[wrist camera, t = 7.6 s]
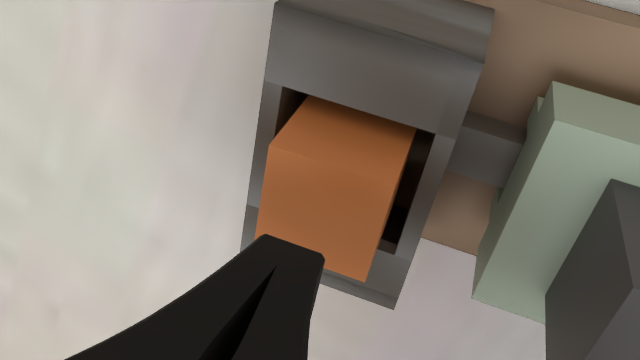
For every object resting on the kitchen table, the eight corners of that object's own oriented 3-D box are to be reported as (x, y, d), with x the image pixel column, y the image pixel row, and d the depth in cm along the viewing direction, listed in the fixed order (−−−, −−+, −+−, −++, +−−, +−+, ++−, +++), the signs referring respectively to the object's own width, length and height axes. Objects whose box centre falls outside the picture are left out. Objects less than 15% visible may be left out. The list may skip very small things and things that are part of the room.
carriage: (660, 285, 19) (721, 512, 13) (480, 226, 20) (456, 412, 14) (773, 128, 16) (928, 333, 10) (551, 64, 17) (560, 214, 11)
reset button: (392, 206, 18) (364, 282, 15) (297, 175, 18) (253, 243, 15) (419, 119, 16) (394, 186, 13) (315, 86, 16) (269, 144, 13)
